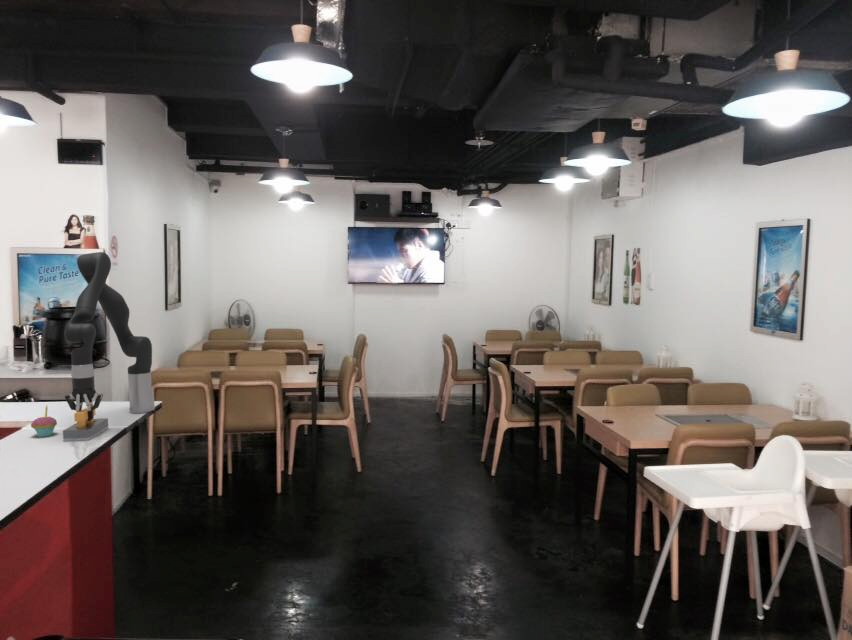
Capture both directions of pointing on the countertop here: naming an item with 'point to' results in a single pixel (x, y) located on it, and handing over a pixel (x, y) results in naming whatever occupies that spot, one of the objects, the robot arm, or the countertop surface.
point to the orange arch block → (83, 418)
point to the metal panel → (85, 430)
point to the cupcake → (44, 425)
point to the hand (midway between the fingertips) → (85, 420)
